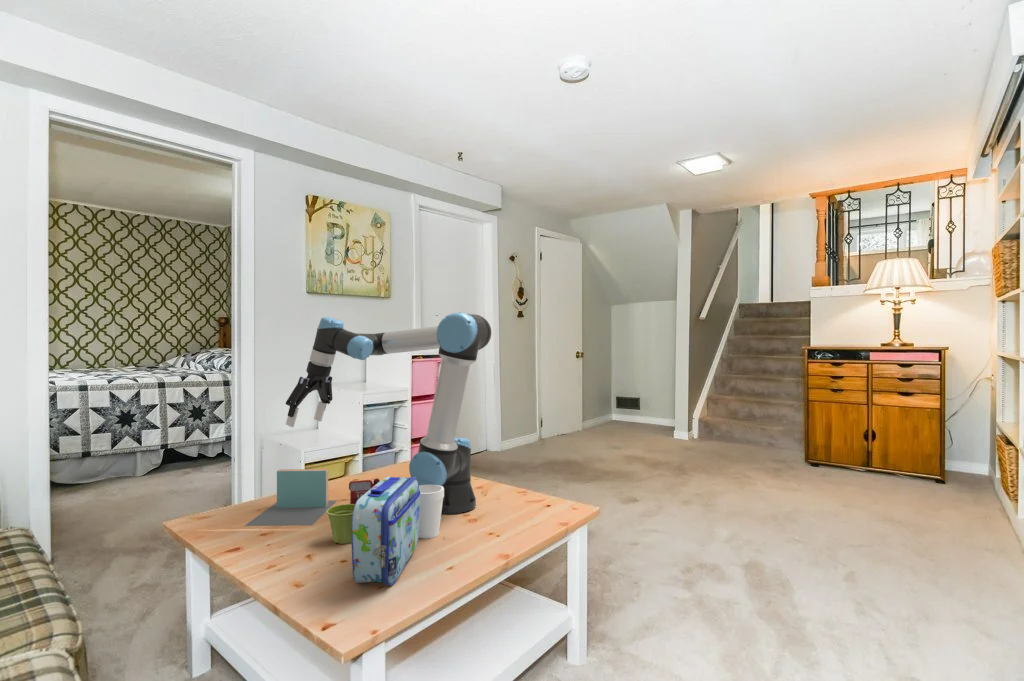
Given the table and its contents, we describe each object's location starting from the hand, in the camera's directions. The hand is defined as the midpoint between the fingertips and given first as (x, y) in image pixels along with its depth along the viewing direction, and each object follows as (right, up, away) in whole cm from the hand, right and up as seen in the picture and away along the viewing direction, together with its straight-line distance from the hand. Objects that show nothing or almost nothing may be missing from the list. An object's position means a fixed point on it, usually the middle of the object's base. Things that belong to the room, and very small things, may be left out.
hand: (304, 422), depth 177 cm
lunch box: (+40, -28, -49) cm, 69 cm away
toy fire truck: (+24, -28, -6) cm, 37 cm away
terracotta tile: (+1, -27, -3) cm, 27 cm away
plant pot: (+24, -28, -31) cm, 48 cm away
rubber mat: (0, -28, -9) cm, 29 cm away
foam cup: (+46, -28, -27) cm, 60 cm away
